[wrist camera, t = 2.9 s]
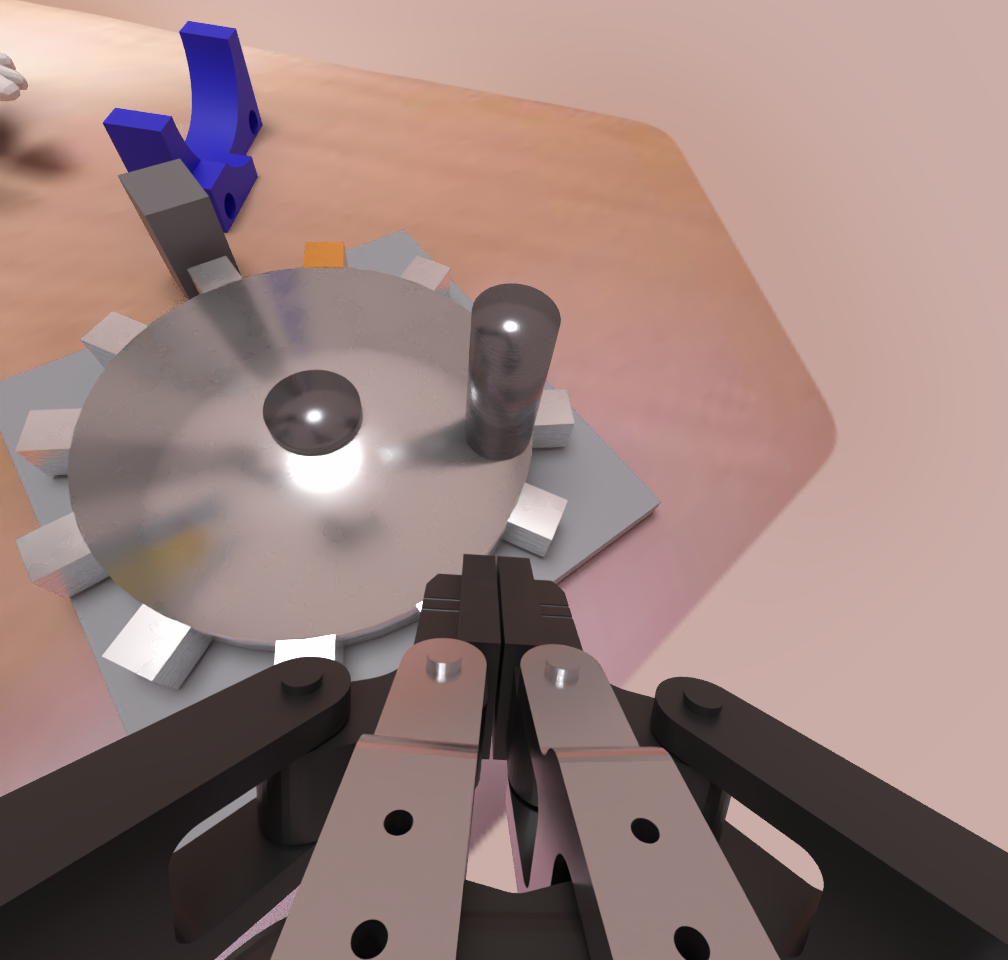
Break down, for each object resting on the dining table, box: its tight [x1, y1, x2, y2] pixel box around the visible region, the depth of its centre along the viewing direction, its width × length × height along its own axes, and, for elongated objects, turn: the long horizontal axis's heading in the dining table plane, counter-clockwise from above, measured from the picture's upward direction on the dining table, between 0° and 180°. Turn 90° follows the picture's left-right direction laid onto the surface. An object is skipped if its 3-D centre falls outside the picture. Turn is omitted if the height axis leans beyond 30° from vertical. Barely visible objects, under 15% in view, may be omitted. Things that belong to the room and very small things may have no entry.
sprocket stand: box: [0, 159, 661, 851], centre depth 25 cm, size 28×23×6 cm
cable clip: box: [103, 21, 262, 233], centre depth 34 cm, size 12×4×6 cm, turn 175°
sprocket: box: [15, 242, 575, 689], centre depth 21 cm, size 23×23×9 cm
